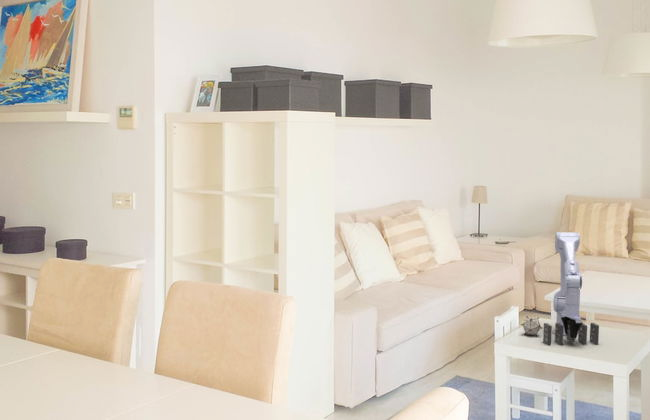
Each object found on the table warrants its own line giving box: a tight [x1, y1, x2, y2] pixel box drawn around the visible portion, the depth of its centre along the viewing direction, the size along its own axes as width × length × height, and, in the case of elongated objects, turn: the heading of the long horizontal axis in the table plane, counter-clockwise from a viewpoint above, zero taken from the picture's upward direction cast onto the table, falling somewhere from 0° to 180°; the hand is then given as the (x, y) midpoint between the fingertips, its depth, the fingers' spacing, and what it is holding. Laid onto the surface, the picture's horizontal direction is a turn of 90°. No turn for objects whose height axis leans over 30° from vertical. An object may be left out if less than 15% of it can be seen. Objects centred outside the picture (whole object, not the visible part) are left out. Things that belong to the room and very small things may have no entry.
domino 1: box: [542, 322, 552, 346], centre depth 312 cm, size 1×5×8 cm, turn 5°
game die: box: [520, 315, 543, 337], centre depth 326 cm, size 9×8×10 cm
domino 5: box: [589, 322, 600, 346], centre depth 314 cm, size 1×5×8 cm, turn 5°
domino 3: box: [566, 322, 576, 344], centre depth 313 cm, size 1×5×8 cm, turn 5°
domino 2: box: [554, 322, 564, 346], centre depth 313 cm, size 1×5×8 cm, turn 5°
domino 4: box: [577, 322, 588, 346], centre depth 313 cm, size 1×5×8 cm, turn 5°
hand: (570, 336), depth 313 cm, fingers closed on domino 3, 5 cm apart
